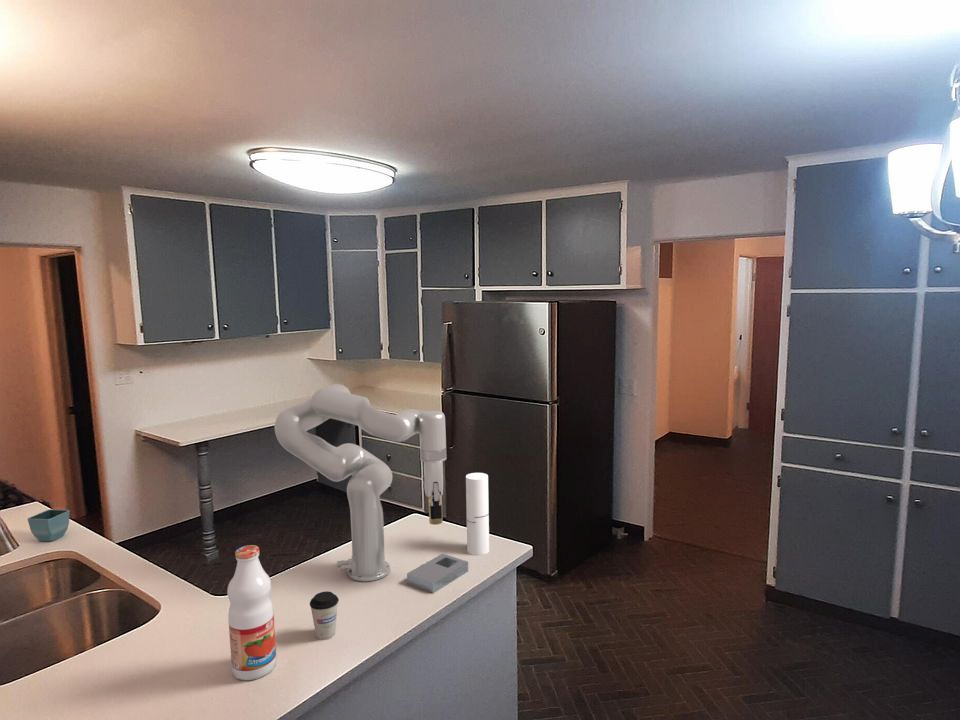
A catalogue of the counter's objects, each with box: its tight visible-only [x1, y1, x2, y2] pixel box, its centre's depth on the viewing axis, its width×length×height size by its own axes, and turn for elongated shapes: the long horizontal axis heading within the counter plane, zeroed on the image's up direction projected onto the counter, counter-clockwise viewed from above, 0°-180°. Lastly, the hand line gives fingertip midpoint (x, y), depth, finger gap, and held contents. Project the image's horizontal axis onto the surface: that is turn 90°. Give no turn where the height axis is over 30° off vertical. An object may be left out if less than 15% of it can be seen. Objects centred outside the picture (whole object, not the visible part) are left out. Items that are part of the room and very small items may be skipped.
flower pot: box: [27, 509, 70, 542], centre depth 205 cm, size 9×9×9 cm
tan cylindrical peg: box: [428, 493, 443, 526], centre depth 170 cm, size 4×4×8 cm
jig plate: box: [406, 553, 469, 594], centre depth 173 cm, size 16×10×3 cm, turn 143°
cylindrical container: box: [465, 472, 490, 556], centre depth 190 cm, size 7×7×25 cm
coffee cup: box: [309, 590, 340, 641], centre depth 145 cm, size 7×7×10 cm
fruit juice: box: [226, 544, 277, 681], centre depth 131 cm, size 9×9×28 cm
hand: (435, 515), depth 170 cm, fingers closed on tan cylindrical peg, 3 cm apart
